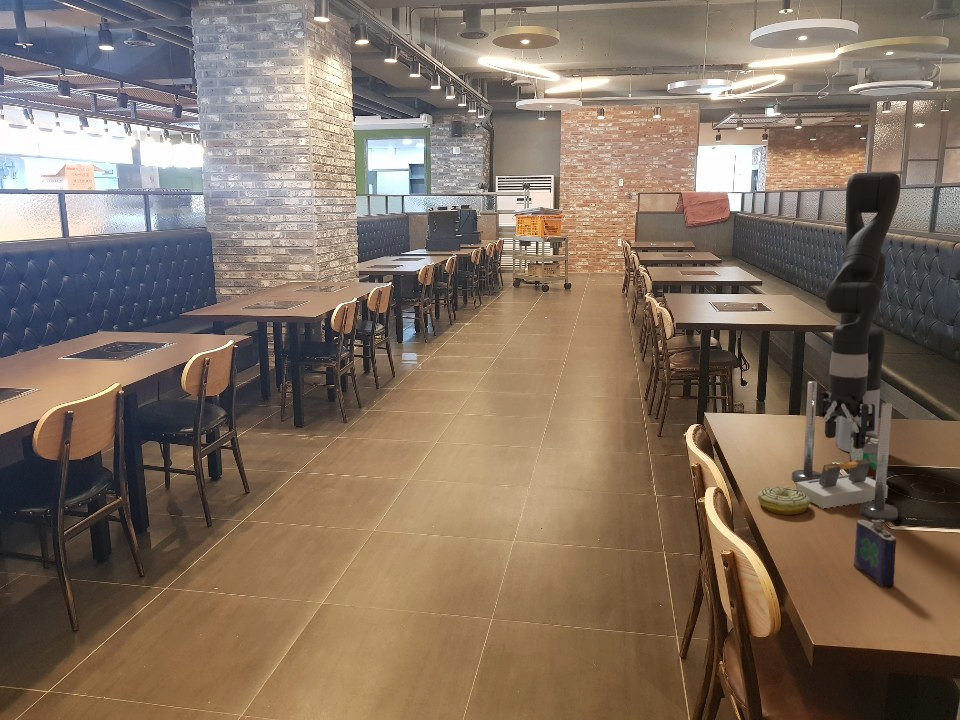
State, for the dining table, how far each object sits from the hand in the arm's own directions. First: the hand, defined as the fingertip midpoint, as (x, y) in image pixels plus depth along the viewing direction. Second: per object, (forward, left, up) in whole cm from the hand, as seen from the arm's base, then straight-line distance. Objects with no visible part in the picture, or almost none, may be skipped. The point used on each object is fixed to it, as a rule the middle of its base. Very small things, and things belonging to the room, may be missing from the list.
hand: (843, 442), depth 165 cm
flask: (+32, -21, -13) cm, 41 cm away
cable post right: (+11, 0, -13) cm, 17 cm away
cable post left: (-11, 0, -13) cm, 17 cm away
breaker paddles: (0, 0, -10) cm, 10 cm away
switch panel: (0, 0, -13) cm, 13 cm away
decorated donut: (+1, -16, -13) cm, 21 cm away
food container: (-8, +15, -13) cm, 21 cm away
